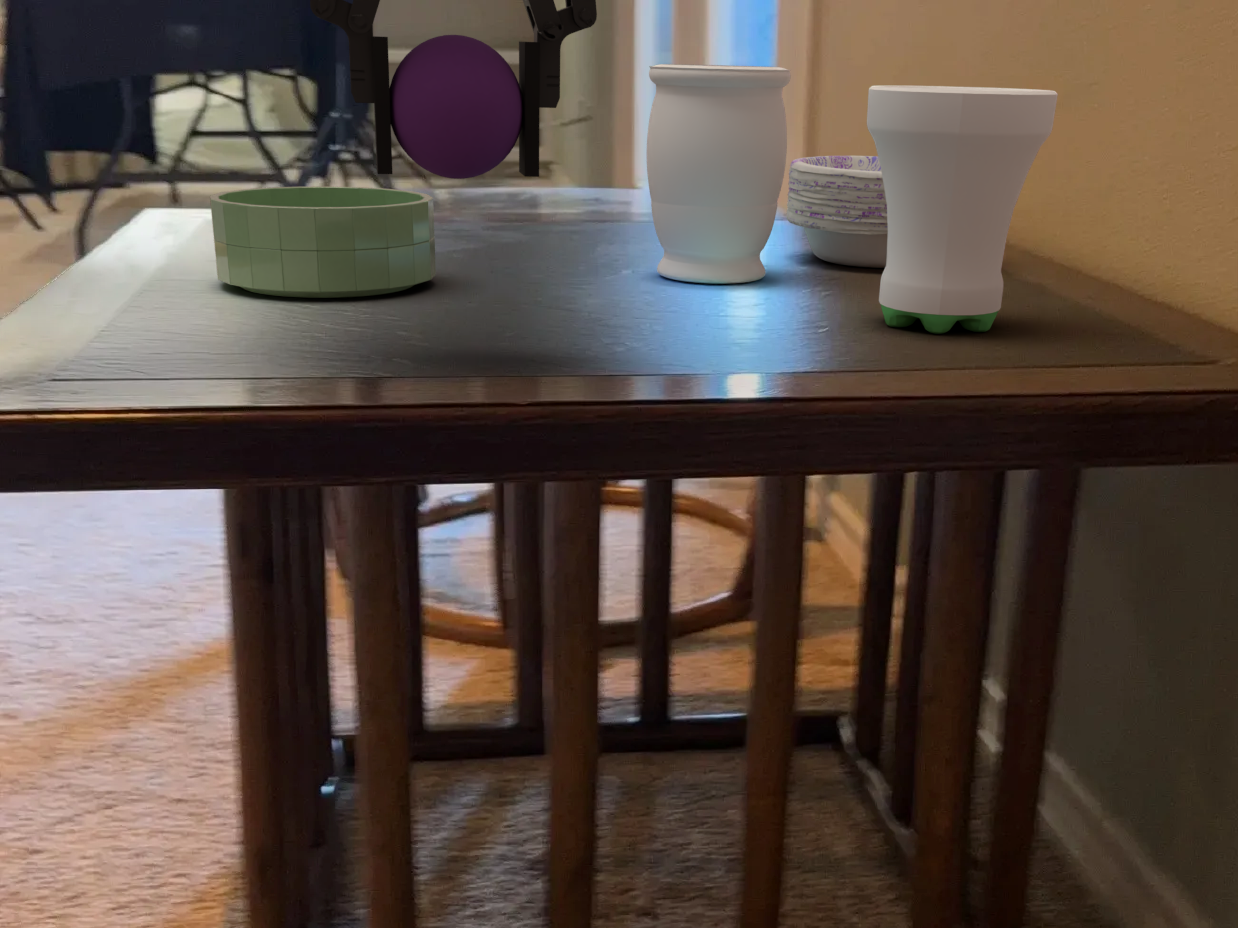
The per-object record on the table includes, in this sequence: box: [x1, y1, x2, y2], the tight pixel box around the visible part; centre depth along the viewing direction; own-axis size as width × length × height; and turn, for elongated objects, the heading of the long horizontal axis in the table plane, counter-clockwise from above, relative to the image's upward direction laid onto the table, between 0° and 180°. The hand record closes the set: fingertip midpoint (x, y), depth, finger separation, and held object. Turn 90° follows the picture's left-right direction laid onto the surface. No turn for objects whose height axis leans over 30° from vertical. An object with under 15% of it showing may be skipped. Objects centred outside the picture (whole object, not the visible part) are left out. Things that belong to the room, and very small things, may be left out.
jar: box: [646, 63, 792, 285], centre depth 103 cm, size 11×10×15 cm
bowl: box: [209, 185, 437, 299], centre depth 98 cm, size 15×15×6 cm
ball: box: [389, 34, 523, 180], centre depth 72 cm, size 7×7×7 cm
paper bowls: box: [786, 155, 888, 269], centre depth 115 cm, size 15×15×8 cm
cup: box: [866, 84, 1059, 335], centre depth 86 cm, size 11×11×14 cm
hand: (457, 172), depth 73 cm, fingers closed on ball, 7 cm apart
